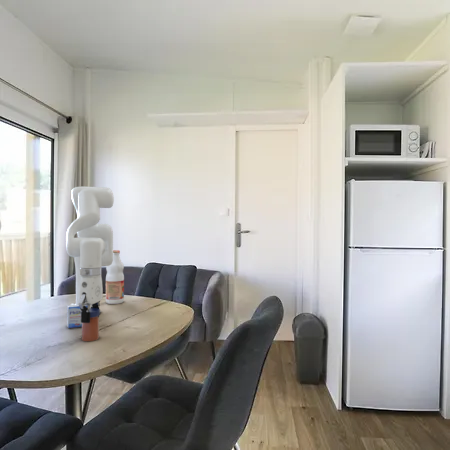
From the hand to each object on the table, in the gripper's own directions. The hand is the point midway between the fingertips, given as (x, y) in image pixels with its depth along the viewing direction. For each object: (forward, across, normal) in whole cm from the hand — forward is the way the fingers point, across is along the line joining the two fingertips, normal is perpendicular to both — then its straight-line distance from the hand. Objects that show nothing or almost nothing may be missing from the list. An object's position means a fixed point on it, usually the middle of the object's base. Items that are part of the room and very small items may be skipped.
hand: (90, 319), depth 138 cm
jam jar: (+7, 0, 0) cm, 7 cm away
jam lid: (-3, 0, 0) cm, 3 cm away
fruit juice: (+7, +60, +16) cm, 62 cm away
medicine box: (+7, +15, +13) cm, 21 cm away
